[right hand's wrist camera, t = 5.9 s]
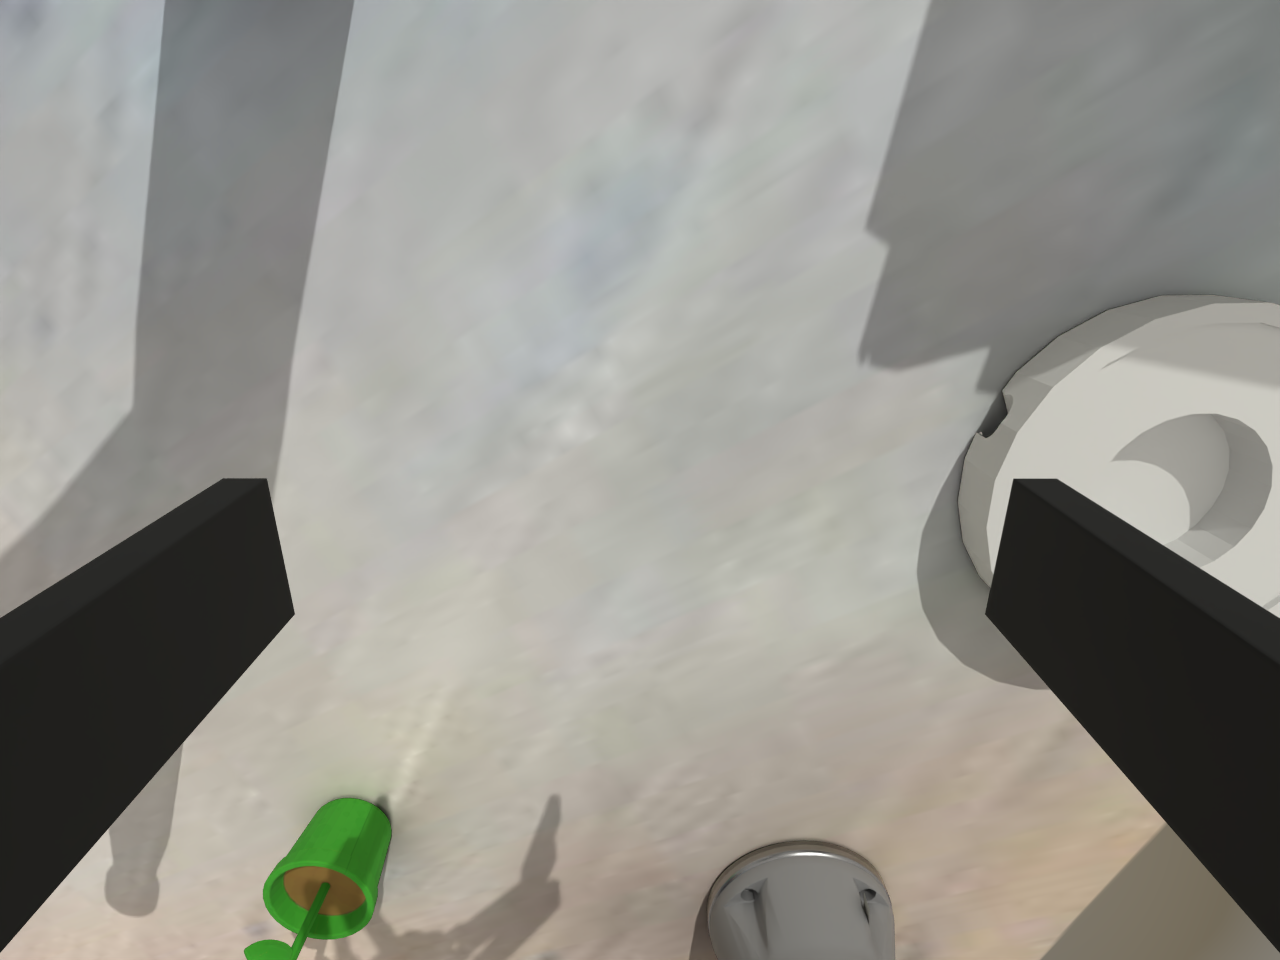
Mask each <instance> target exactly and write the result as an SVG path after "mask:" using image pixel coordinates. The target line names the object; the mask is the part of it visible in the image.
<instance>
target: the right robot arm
mask: <svg viewBox="0 0 1280 960" xmlns="http://www.w3.org/2000/svg"><path fill="white" fill-rule="evenodd" d="M294 614H295V613H294V608H293V603H292V598H291V593H290V589H289V584H288V579H287V574H286V569H285V564H284V560H283V555H282V550H281V545H280V540H279V535H278V531H277V526H276V521H275V516H274V511H273V507H272V502H271V497H270V492H269V487H268V482H267V479H222V480H220V481H218V482H217V483H215V484H214V485H212V486H210V487H209V488H207V489H206V490H204V491H202V492H201V493H199V494H198V495H196V496H194V497H193V498H191V499H190V500H188V501H186V502H185V503H183V504H182V505H180V506H179V507H177V508H175V509H174V510H172V511H171V512H169V513H167V514H166V515H164V516H163V517H161V518H159V519H158V520H156V521H155V522H153V523H151V524H150V525H148V526H147V527H145V528H143V529H142V530H140V531H139V532H137V533H135V534H134V535H132V536H131V537H129V538H127V539H126V540H124V541H123V542H121V543H119V544H118V545H116V546H115V547H113V548H111V549H110V550H108V551H107V552H105V553H103V554H102V555H100V556H99V557H97V558H95V559H94V560H92V561H91V562H89V563H88V564H86V565H84V566H83V567H81V568H80V569H78V570H76V571H75V572H73V573H72V574H70V575H68V576H67V577H65V578H64V579H62V580H60V581H59V582H57V583H56V584H54V585H52V586H51V587H49V588H48V589H46V590H44V591H43V592H41V593H40V594H38V595H36V596H35V597H33V598H32V599H30V600H28V601H27V602H25V603H24V604H22V605H20V606H19V607H17V608H16V609H14V610H12V611H11V612H9V613H8V614H6V615H5V616H3V617H1V618H0V952H1V951H2V950H3V949H4V948H5V947H6V945H7V944H8V943H9V942H10V941H11V940H12V939H13V937H14V936H15V935H16V934H17V933H18V932H19V931H20V929H21V928H22V927H23V926H24V925H25V924H26V922H27V921H28V920H29V919H30V918H31V917H32V916H33V914H34V913H35V912H36V911H37V910H38V909H39V908H40V906H41V905H42V904H43V903H44V902H45V901H46V899H47V898H48V897H49V896H50V895H51V894H52V893H53V891H54V890H55V889H56V888H57V887H58V886H59V885H60V883H61V882H62V881H63V880H64V879H65V878H66V877H67V875H68V874H69V873H70V872H71V871H72V870H73V868H74V867H75V866H76V865H77V864H78V863H79V862H80V860H81V859H82V858H83V857H84V856H85V855H86V854H87V852H88V851H89V850H90V849H91V848H92V847H93V845H94V844H95V843H96V842H97V841H98V840H99V839H100V837H101V836H102V835H103V834H104V833H105V832H106V831H107V829H108V828H109V827H110V826H111V825H112V824H113V822H114V821H115V820H116V819H117V818H118V817H119V816H120V814H121V813H122V812H123V811H124V810H125V809H126V808H127V806H128V805H129V804H130V803H131V802H132V801H133V800H134V798H135V797H136V796H137V795H138V794H139V793H140V791H141V790H142V789H143V788H144V787H145V786H146V785H147V783H148V782H149V781H150V780H151V779H152V778H153V777H154V775H155V774H156V773H157V772H158V771H159V770H160V768H161V767H162V766H163V765H164V764H165V763H166V762H167V760H168V759H169V758H170V757H171V756H172V755H173V754H174V752H175V751H176V750H177V749H178V748H179V747H180V745H181V744H182V743H183V742H184V741H185V740H186V739H187V737H188V736H189V735H190V734H191V733H192V732H193V731H194V729H195V728H196V727H197V726H198V725H199V724H200V723H201V721H202V720H203V719H204V718H205V717H206V716H207V714H208V713H209V712H210V711H211V710H212V709H213V708H214V706H215V705H216V704H217V703H218V702H219V701H220V700H221V698H222V697H223V696H224V695H225V694H226V693H227V691H228V690H229V689H230V688H231V687H232V686H233V685H234V683H235V682H236V681H237V680H238V679H239V678H240V677H241V675H242V674H243V673H244V672H245V671H246V670H247V668H248V667H249V666H250V665H251V664H252V663H253V662H254V660H255V659H256V658H257V657H258V656H259V655H260V654H261V652H262V651H263V650H264V649H265V648H266V647H267V646H268V644H269V643H270V642H271V641H272V640H273V639H274V637H275V636H276V635H277V634H278V633H279V632H280V631H281V629H282V628H283V627H284V626H285V625H286V624H287V623H288V621H289V620H290V619H291V618H292V617H293V616H294ZM985 614H986V616H987V617H988V618H989V619H990V620H991V621H992V623H993V624H994V625H995V626H996V627H997V628H998V629H999V631H1000V632H1001V633H1002V634H1003V635H1004V636H1005V637H1006V639H1007V640H1008V641H1009V642H1010V643H1011V644H1012V646H1013V647H1014V648H1015V649H1016V650H1017V651H1018V652H1019V654H1020V655H1021V656H1022V657H1023V658H1024V659H1025V660H1026V662H1027V663H1028V664H1029V665H1030V666H1031V667H1032V668H1033V670H1034V671H1035V672H1036V673H1037V674H1038V675H1039V677H1040V678H1041V679H1042V680H1043V681H1044V682H1045V683H1046V685H1047V686H1048V687H1049V688H1050V689H1051V690H1052V691H1053V693H1054V694H1055V695H1056V696H1057V697H1058V698H1059V700H1060V701H1061V702H1062V703H1063V704H1064V705H1065V706H1066V708H1067V709H1068V710H1069V711H1070V712H1071V713H1072V714H1073V716H1074V717H1075V718H1076V719H1077V720H1078V721H1079V723H1080V724H1081V725H1082V726H1083V727H1084V728H1085V729H1086V731H1087V732H1088V733H1089V734H1090V735H1091V736H1092V737H1093V739H1094V740H1095V741H1096V742H1097V743H1098V744H1099V745H1100V747H1101V748H1102V749H1103V750H1104V751H1105V752H1106V754H1107V755H1108V756H1109V757H1110V758H1111V759H1112V760H1113V762H1114V763H1115V764H1116V765H1117V766H1118V767H1119V768H1120V770H1121V771H1122V772H1123V773H1124V774H1125V775H1126V777H1127V778H1128V779H1129V780H1130V781H1131V782H1132V783H1133V785H1134V786H1135V787H1136V788H1137V789H1138V790H1139V791H1140V793H1141V794H1142V795H1143V796H1144V797H1145V798H1146V800H1147V801H1148V802H1149V803H1150V804H1151V805H1152V806H1153V808H1154V809H1155V810H1156V811H1157V812H1158V813H1159V814H1160V816H1161V817H1162V818H1163V819H1164V820H1165V821H1166V822H1167V824H1168V825H1169V826H1170V827H1171V828H1172V829H1173V831H1174V832H1175V833H1176V834H1177V835H1178V836H1179V837H1180V839H1181V840H1182V841H1183V842H1184V843H1185V844H1186V845H1187V847H1188V848H1189V849H1190V850H1191V851H1192V852H1193V854H1194V855H1195V856H1196V857H1197V858H1198V859H1199V860H1200V861H1201V863H1202V864H1203V865H1204V866H1205V867H1206V868H1207V870H1208V871H1209V872H1210V873H1211V874H1212V875H1213V877H1214V878H1215V879H1216V880H1217V881H1218V882H1219V883H1220V885H1221V886H1222V887H1223V888H1224V889H1225V890H1226V891H1227V893H1228V894H1229V895H1230V896H1231V897H1232V898H1233V899H1234V901H1235V902H1236V903H1237V904H1238V905H1239V906H1240V908H1241V909H1242V910H1243V911H1244V912H1245V913H1246V914H1247V916H1248V917H1249V918H1250V919H1251V920H1252V921H1253V922H1254V924H1255V925H1256V926H1257V927H1258V928H1259V929H1260V931H1261V932H1262V933H1263V934H1264V935H1265V936H1266V937H1267V939H1268V940H1269V941H1270V942H1271V943H1272V944H1273V945H1274V947H1275V948H1276V949H1277V950H1278V951H1279V952H1280V618H1279V617H1277V616H1275V615H1274V614H1272V613H1271V612H1269V611H1268V610H1266V609H1264V608H1263V607H1261V606H1260V605H1258V604H1256V603H1255V602H1253V601H1252V600H1250V599H1248V598H1247V597H1245V596H1244V595H1242V594H1240V593H1239V592H1237V591H1236V590H1234V589H1232V588H1231V587H1229V586H1228V585H1226V584H1224V583H1223V582H1221V581H1220V580H1218V579H1216V578H1215V577H1213V576H1212V575H1210V574H1208V573H1207V572H1205V571H1204V570H1202V569H1200V568H1199V567H1197V566H1196V565H1194V564H1192V563H1191V562H1189V561H1188V560H1186V559H1184V558H1183V557H1181V556H1180V555H1178V554H1177V553H1175V552H1173V551H1172V550H1170V549H1169V548H1167V547H1165V546H1164V545H1162V544H1161V543H1159V542H1157V541H1156V540H1154V539H1153V538H1151V537H1149V536H1148V535H1146V534H1145V533H1143V532H1141V531H1140V530H1138V529H1137V528H1135V527H1133V526H1132V525H1130V524H1129V523H1127V522H1125V521H1124V520H1122V519H1121V518H1119V517H1117V516H1116V515H1114V514H1113V513H1111V512H1109V511H1108V510H1106V509H1105V508H1103V507H1101V506H1100V505H1098V504H1097V503H1095V502H1094V501H1092V500H1090V499H1089V498H1087V497H1086V496H1084V495H1082V494H1081V493H1079V492H1078V491H1076V490H1074V489H1073V488H1071V487H1070V486H1068V485H1066V484H1065V483H1063V482H1062V481H1060V480H1058V479H1013V482H1012V487H1011V492H1010V497H1009V502H1008V506H1007V511H1006V516H1005V521H1004V526H1003V531H1002V535H1001V540H1000V545H999V550H998V555H997V560H996V564H995V569H994V574H993V579H992V584H991V589H990V593H989V598H988V603H987V608H986V613H985ZM707 919H708V929H709V935H710V938H711V942H712V946H713V949H714V952H715V954H716V957H717V959H718V960H895V931H894V916H893V911H892V905H891V901H890V898H889V895H888V893H887V890H886V887H885V884H884V882H883V880H882V878H881V876H880V874H879V873H878V871H877V870H876V869H875V868H874V867H873V866H872V865H871V864H870V863H869V862H868V861H867V860H866V859H864V858H863V857H862V856H860V855H858V854H857V853H855V852H853V851H851V850H849V849H846V848H844V847H841V846H838V845H834V844H830V843H825V842H818V841H791V842H783V843H778V844H774V845H770V846H766V847H763V848H760V849H758V850H756V851H753V852H751V853H749V854H747V855H745V856H743V857H742V858H740V859H739V860H737V861H736V862H734V863H733V864H732V865H730V866H729V867H728V868H727V869H726V870H725V871H724V872H723V873H722V874H721V875H720V877H719V878H718V879H717V881H716V882H715V884H714V886H713V887H712V889H711V892H710V894H709V898H708V903H707Z"/></svg>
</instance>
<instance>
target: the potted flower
mask: <svg viewBox="0 0 1280 960" xmlns="http://www.w3.org/2000/svg"><path fill="white" fill-rule="evenodd" d="M390 839H391V826H390V822H389V820H388V818H387V816H386V815H385V814H384V813H383V812H382V811H381V810H380V809H379V808H378V807H376V806H375V805H373V804H371V803H369V802H367V801H364V800H360V799H354V798H341V799H336V800H333V801H331V802H329V803H327V804H326V805H324V806H322V807H321V808H320V809H319V810H318V811H317V813H316V814H315V816H314V817H313V819H312V820H311V821H310V823H309V824H308V826H307V827H306V829H305V830H304V832H303V833H302V834H301V836H300V837H299V839H298V840H297V842H296V843H295V844H294V846H293V847H292V849H291V850H290V852H289V853H288V854H287V856H286V857H284V858H283V859H282V860H281V861H280V862H279V863H278V864H277V865H276V867H275V868H274V870H273V871H272V873H271V874H270V875H269V877H268V879H267V880H266V882H265V884H264V888H263V899H264V902H265V906H266V908H267V910H268V911H269V913H270V914H271V916H272V917H273V918H274V919H275V920H276V921H277V922H278V923H280V924H281V925H282V926H284V927H285V928H287V929H289V930H290V931H292V932H294V933H297V934H298V935H297V937H296V939H295V941H294V943H293V945H292V947H290V946H289V945H288V944H286V943H284V942H281V941H278V940H262V941H258V942H256V943H253V944H251V945H250V946H248V947H247V948H245V950H244V953H245V956H246V958H247V960H297V958H298V955H299V953H300V951H301V949H302V947H303V945H304V942H305V940H306V938H307V937H310V938H315V939H338V938H344V937H347V936H350V935H352V934H354V933H356V932H358V931H360V930H361V929H362V928H363V927H365V926H366V925H367V924H368V922H369V921H370V919H371V918H372V915H373V912H374V908H375V904H376V900H377V897H378V888H377V886H378V883H379V879H380V876H381V872H382V868H383V865H384V861H385V857H386V854H387V850H388V846H389V843H390Z"/></svg>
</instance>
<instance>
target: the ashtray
mask: <svg viewBox="0 0 1280 960" xmlns="http://www.w3.org/2000/svg"><path fill="white" fill-rule="evenodd" d="M1002 392H1003V396H1004V400H1005V404H1006V408H1007V412H1008V415H1007V416H1006V418H1005V419H1004V420H1003V421H1002V422H1001V424H1000V425H999V427H998V428H997V430H996V431H995V432H994V433H993V434H992V435H991V436H990V437H988V438H984V437H983V435H982V432H980V433H976V434H975V437H974V439H973V441H972V443H971V446H970V448H969V450H968V452H967V455H966V457H965V460H964V466H963V473H962V479H961V485H960V491H959V497H958V508H959V516H960V523H961V531H962V539H963V543H964V545H965V547H966V549H967V552H968V554H969V556H970V558H971V560H972V562H973V564H974V566H975V568H976V570H977V573H978V575H979V576H980V577H981V578H982V580H983V581H984V582H985V583H986V584H987V585H988V586H989V587H990V588H991V584H992V579H993V574H994V569H995V564H996V560H997V555H998V550H999V545H1000V540H1001V535H1002V531H1003V526H1004V521H1005V516H1006V511H1007V506H1008V502H1009V497H1010V492H1011V487H1012V482H1013V479H1058V480H1060V481H1062V482H1063V483H1065V484H1066V485H1068V486H1070V487H1071V488H1073V489H1074V490H1076V491H1078V492H1079V493H1081V494H1082V495H1084V496H1086V497H1087V498H1089V499H1090V500H1092V501H1094V502H1095V503H1097V504H1098V505H1100V506H1101V507H1103V508H1105V509H1106V510H1108V511H1109V512H1111V513H1113V514H1114V515H1116V516H1117V517H1119V518H1121V519H1122V520H1124V521H1125V522H1127V523H1129V524H1130V525H1132V526H1133V527H1135V528H1137V529H1138V530H1140V531H1141V532H1143V533H1145V534H1146V535H1148V536H1149V537H1151V538H1153V539H1154V540H1156V541H1157V542H1159V543H1161V544H1162V545H1164V546H1165V547H1167V548H1169V549H1170V550H1172V551H1173V552H1175V553H1177V554H1178V555H1180V556H1181V557H1183V558H1184V559H1186V560H1188V561H1189V562H1191V563H1192V564H1194V565H1196V566H1197V567H1199V568H1200V569H1202V570H1204V571H1205V572H1207V573H1208V574H1210V575H1212V576H1213V577H1215V578H1216V579H1218V580H1220V581H1221V582H1223V583H1224V584H1226V585H1228V586H1229V587H1231V588H1232V589H1234V590H1236V591H1237V592H1239V593H1240V594H1242V595H1244V596H1245V597H1247V598H1248V599H1250V600H1252V601H1253V602H1255V603H1256V604H1258V605H1260V606H1261V607H1263V608H1264V609H1266V610H1268V611H1269V612H1271V613H1272V614H1274V615H1275V616H1277V617H1279V618H1280V305H1277V304H1274V303H1270V302H1262V301H1255V300H1247V299H1240V298H1233V297H1225V296H1218V295H1165V296H1157V297H1154V298H1150V299H1146V300H1143V301H1139V302H1135V303H1132V304H1128V305H1124V306H1121V307H1117V308H1113V309H1110V310H1107V311H1105V312H1103V313H1101V314H1099V315H1098V316H1096V317H1094V318H1092V319H1090V320H1088V321H1086V322H1084V323H1083V324H1081V325H1079V326H1077V327H1075V328H1073V329H1071V330H1069V331H1068V332H1066V333H1064V334H1062V335H1060V336H1058V337H1057V338H1056V339H1055V340H1054V341H1052V342H1051V343H1050V344H1049V345H1048V346H1047V347H1045V348H1044V349H1043V350H1042V351H1041V352H1039V353H1038V354H1037V355H1036V356H1035V357H1034V358H1032V359H1031V360H1030V361H1029V362H1028V363H1027V364H1025V365H1024V366H1023V367H1022V368H1021V369H1019V370H1018V371H1017V372H1016V373H1015V375H1014V376H1013V377H1012V379H1011V380H1010V381H1009V382H1008V384H1007V385H1006V386H1005V388H1004V389H1003V390H1002Z"/></svg>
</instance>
